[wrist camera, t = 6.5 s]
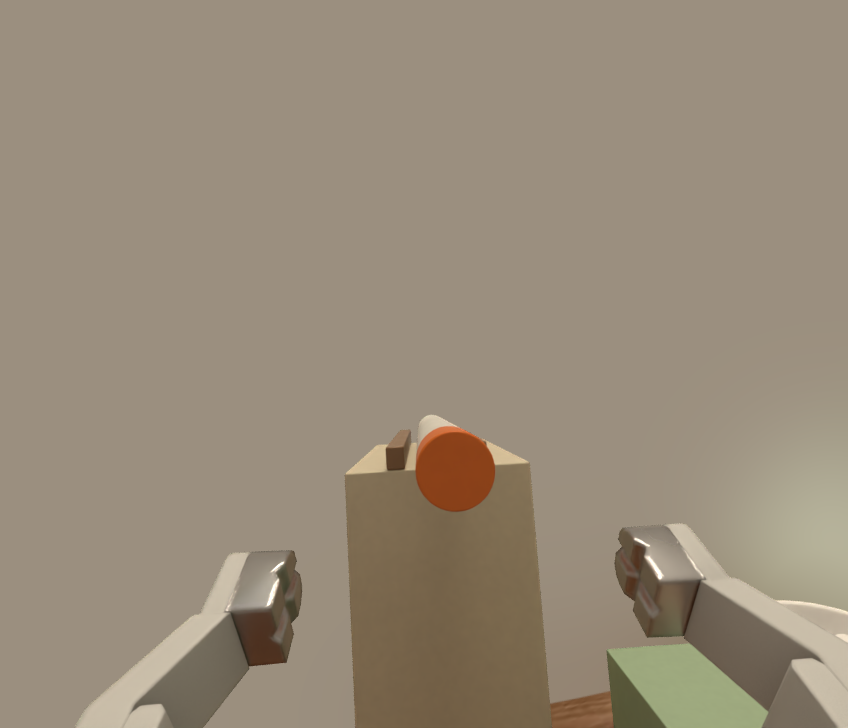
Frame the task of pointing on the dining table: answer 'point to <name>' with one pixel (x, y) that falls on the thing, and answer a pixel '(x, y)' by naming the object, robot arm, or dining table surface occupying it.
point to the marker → (452, 465)
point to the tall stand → (444, 599)
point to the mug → (822, 616)
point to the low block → (676, 691)
